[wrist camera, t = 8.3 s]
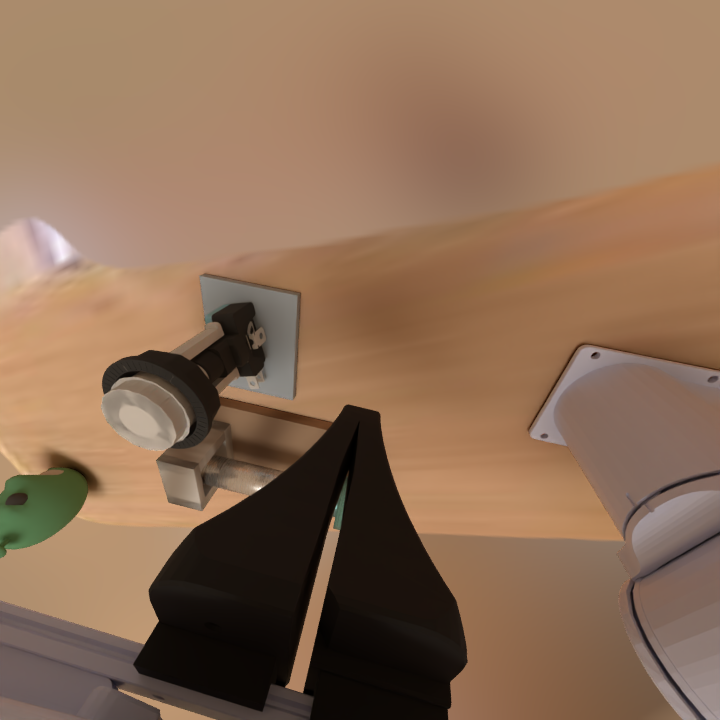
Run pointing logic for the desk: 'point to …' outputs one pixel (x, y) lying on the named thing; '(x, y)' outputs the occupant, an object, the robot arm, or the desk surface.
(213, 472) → the shaft
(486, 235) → the desk surface
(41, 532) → the alien toy
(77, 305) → the desk surface
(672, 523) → the robot arm
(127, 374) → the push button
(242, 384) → the pad
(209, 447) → the bracket
